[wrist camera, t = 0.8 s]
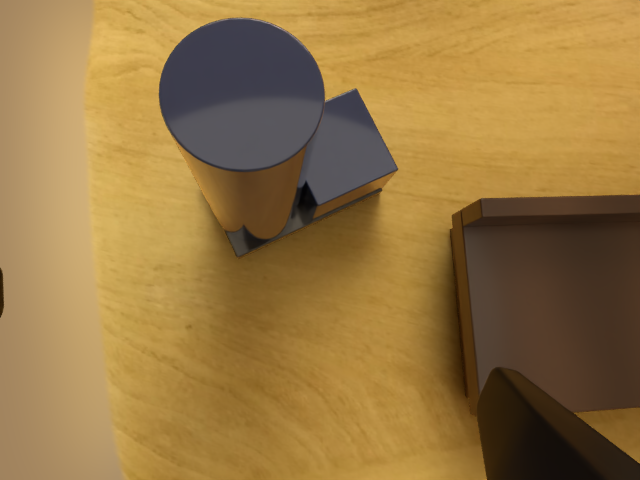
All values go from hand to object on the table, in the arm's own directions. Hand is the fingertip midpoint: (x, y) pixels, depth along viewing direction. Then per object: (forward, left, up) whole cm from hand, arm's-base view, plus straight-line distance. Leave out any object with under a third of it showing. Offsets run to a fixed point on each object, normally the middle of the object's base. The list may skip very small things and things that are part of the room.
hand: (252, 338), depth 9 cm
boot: (+5, +5, -15) cm, 16 cm away
